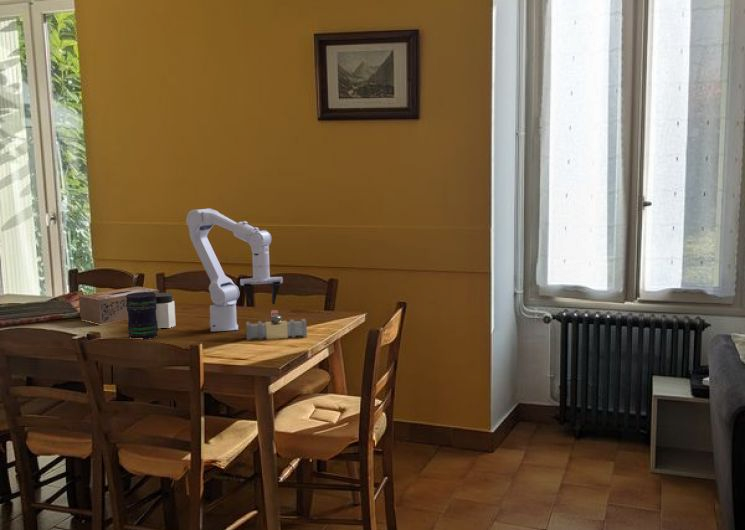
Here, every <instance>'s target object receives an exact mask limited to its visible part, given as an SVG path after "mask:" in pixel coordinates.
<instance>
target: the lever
mask: <svg viewBox="0 0 745 530" xmlns="http://www.w3.org/2000/svg"><path fill="white" fill-rule="evenodd" d="M270 313H271V316H270V322H271V323H280V322H282V321H283V320H282V316H281V315H279V311H278V310H277V309H276V310H275V309H274V310H273V309H272V310H271V312H270Z"/></svg>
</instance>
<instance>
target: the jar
mask: <svg viewBox="0 0 745 530" xmlns="http://www.w3.org/2000/svg"><path fill="white" fill-rule="evenodd" d="M155 297H156V307H157V308H156V320H157V325H158V328H170V329H172V328H174V327H176V305H175V304H176V303H175V300H174V294H173V293H172V292H159V293H156V296H155ZM171 327H172V328H171Z"/></svg>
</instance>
